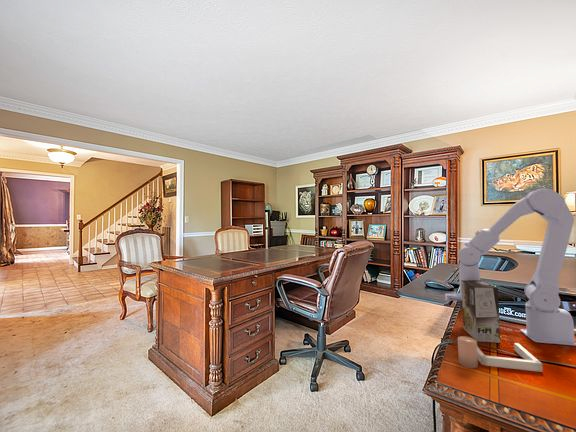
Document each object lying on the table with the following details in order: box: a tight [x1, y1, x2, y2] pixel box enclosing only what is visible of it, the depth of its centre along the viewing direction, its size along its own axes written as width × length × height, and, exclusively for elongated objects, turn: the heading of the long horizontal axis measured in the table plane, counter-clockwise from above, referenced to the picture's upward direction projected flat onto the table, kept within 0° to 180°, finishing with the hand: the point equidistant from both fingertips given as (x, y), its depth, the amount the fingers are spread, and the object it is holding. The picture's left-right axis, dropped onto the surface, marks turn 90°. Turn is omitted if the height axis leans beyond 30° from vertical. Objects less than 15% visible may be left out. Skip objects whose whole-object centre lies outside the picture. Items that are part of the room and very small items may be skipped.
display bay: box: [477, 342, 543, 373], centre depth 67 cm, size 12×10×2 cm
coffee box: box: [461, 279, 501, 344], centre depth 79 cm, size 9×6×16 cm
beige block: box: [457, 335, 479, 369], centre depth 65 cm, size 4×4×6 cm
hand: (471, 323), depth 86 cm, fingers closed
